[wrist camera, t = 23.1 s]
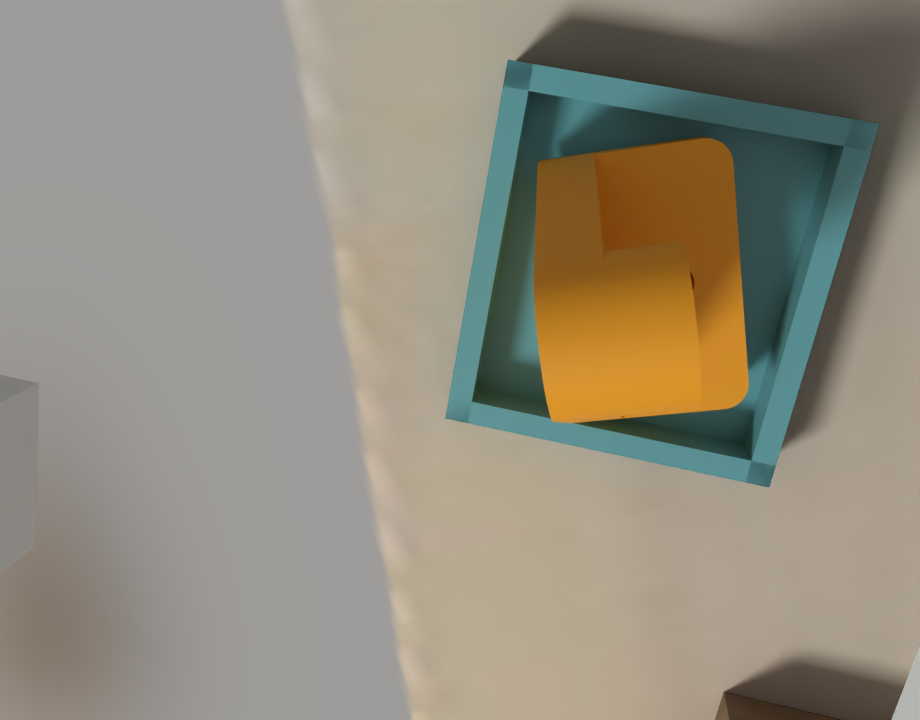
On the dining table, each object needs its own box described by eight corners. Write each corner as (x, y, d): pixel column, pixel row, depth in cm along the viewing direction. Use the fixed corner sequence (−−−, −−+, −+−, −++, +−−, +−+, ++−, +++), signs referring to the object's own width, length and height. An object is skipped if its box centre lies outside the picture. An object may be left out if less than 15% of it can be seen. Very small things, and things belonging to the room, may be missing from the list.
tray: (513, 62, 36) (507, 59, 34) (860, 122, 35) (879, 123, 32) (454, 399, 40) (445, 418, 38) (758, 464, 39) (769, 487, 37)
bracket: (740, 386, 38) (801, 508, 26) (572, 402, 39) (562, 525, 28) (721, 132, 35) (781, 146, 24) (541, 158, 36) (516, 184, 25)
